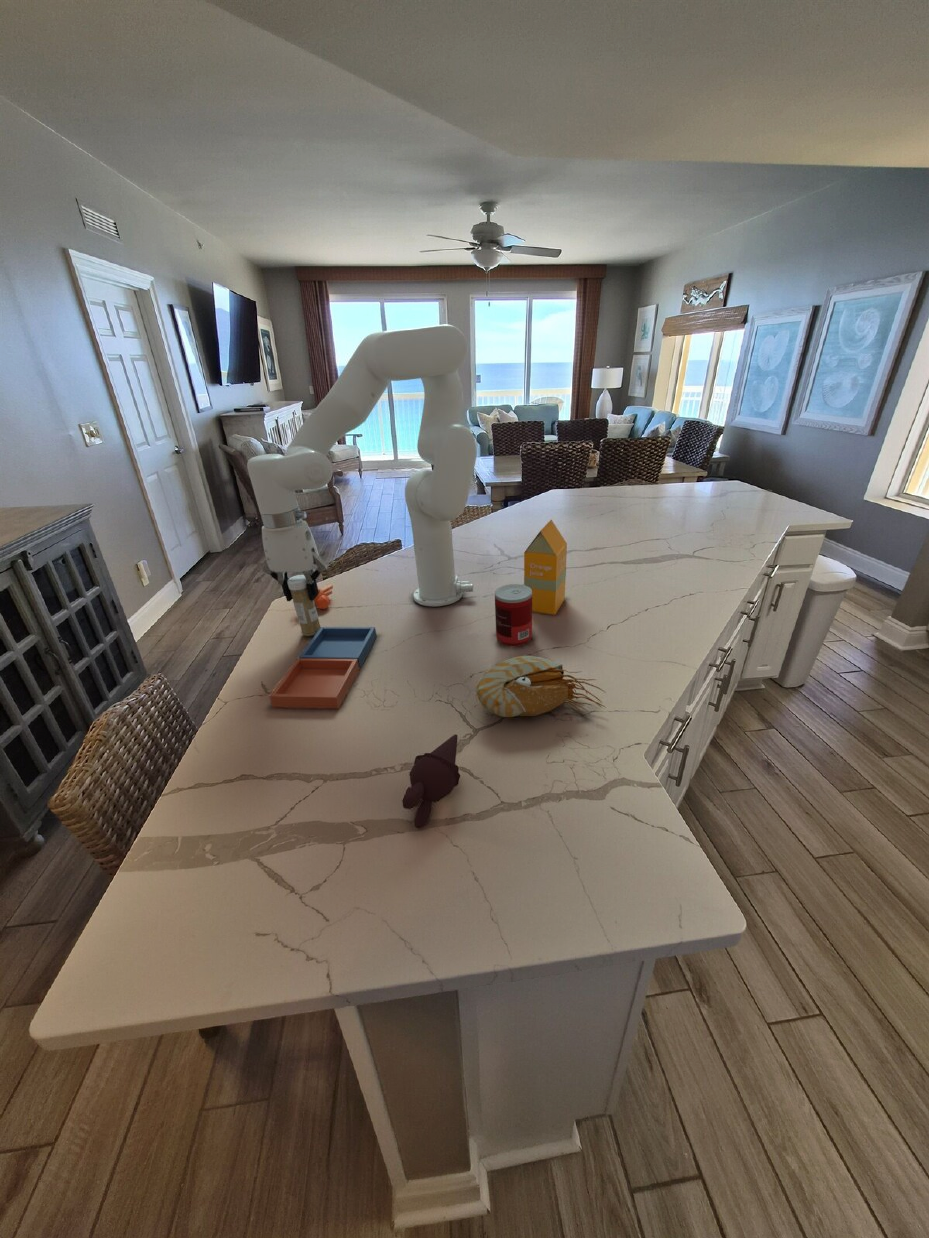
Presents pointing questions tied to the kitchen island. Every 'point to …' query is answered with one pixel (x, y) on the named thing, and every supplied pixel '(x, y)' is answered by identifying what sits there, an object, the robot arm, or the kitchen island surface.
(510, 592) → the canned food
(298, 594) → the sprinkles bottle
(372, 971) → the kitchen island surface
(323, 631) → the slate tray
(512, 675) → the nautilus
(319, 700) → the terracotta tray
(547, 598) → the orange juice
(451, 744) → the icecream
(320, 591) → the orange toy motorcycle
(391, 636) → the kitchen island surface
